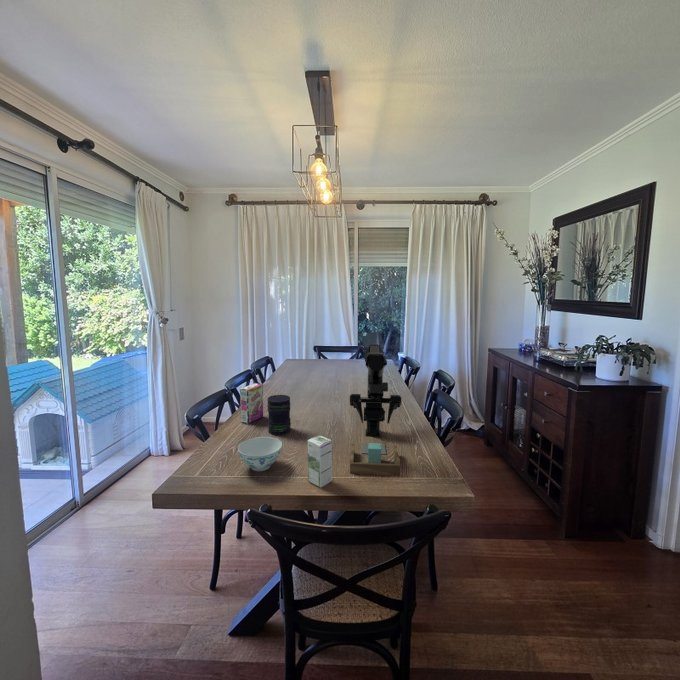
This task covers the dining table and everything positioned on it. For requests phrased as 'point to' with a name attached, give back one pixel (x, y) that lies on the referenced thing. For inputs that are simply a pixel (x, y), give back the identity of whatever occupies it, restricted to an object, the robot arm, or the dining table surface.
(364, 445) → the grey rubber mat
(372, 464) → the walnut crate
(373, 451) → the teal block
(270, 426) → the storage jar
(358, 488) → the dining table surface
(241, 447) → the chinaware
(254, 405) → the candy bar box
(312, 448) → the syrup box
